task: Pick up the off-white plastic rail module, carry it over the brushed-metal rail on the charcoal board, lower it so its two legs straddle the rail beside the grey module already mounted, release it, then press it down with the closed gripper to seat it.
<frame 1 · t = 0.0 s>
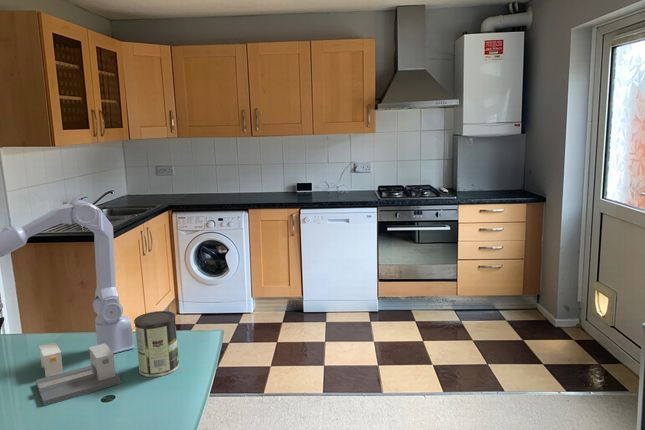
coffee can: (159, 368, 136), on the table
rail board: (78, 384, 128), on the table
module: (52, 370, 136), on the table
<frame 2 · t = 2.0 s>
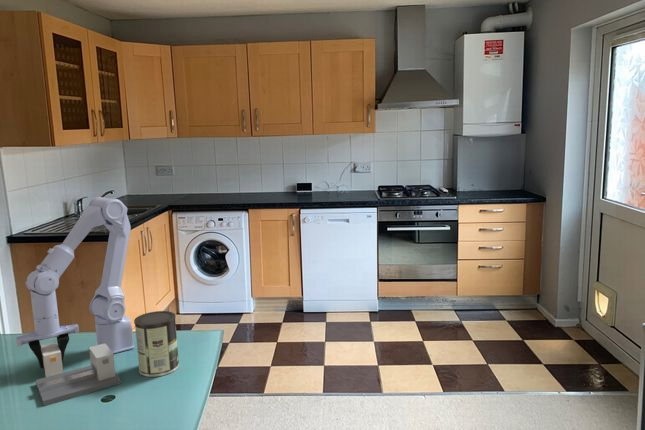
hand: (51, 364, 136), 2 cm above the table, fingers closed on module, 4 cm apart
module: (52, 370, 136), on the table, touching gripper
everything else where it was.
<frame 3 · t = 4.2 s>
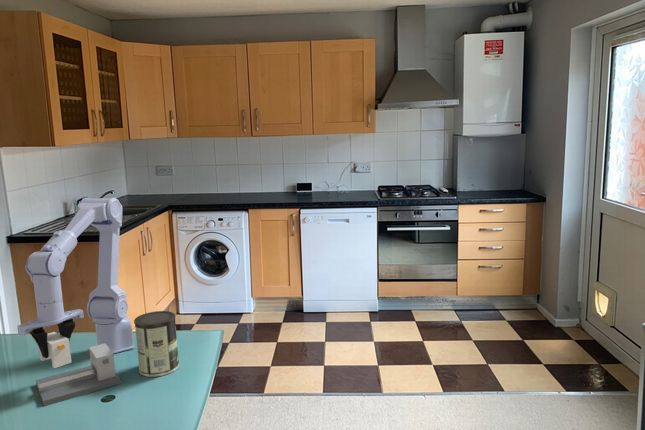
hand: (55, 353, 125), 9 cm above the table, fingers closed on module, 4 cm apart
module: (55, 361, 126), point 7 cm above the table, touching gripper
everything else where it was.
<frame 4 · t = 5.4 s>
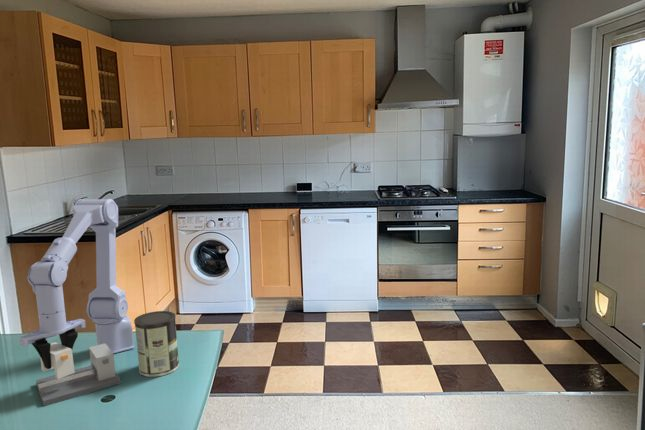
hand: (57, 364, 125), 7 cm above the table, fingers closed on module, 4 cm apart
module: (58, 371, 125), point 4 cm above the table, touching gripper
everything else where it was.
when the fingers open (3 cm above the table, at t = 6.5 s): module stays where it is, resting on rail board.
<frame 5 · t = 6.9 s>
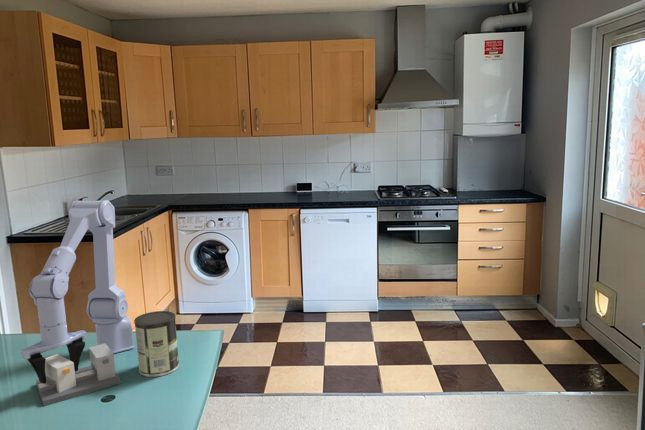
hand: (59, 376, 125), 3 cm above the table, fingers open, 7 cm apart
module: (59, 384, 125), point 1 cm above the table, touching rail board
everything else where it was.
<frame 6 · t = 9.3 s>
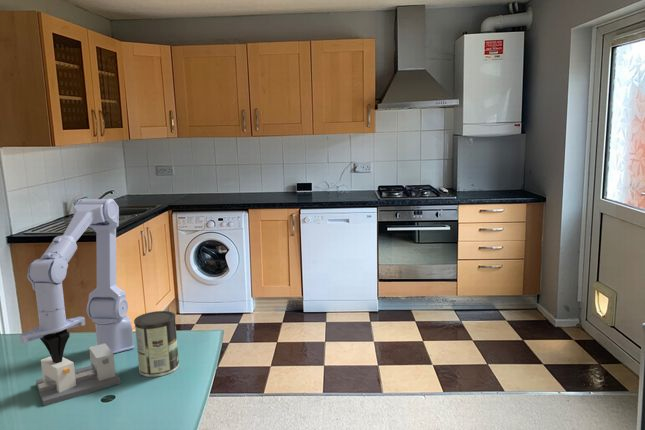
hand: (57, 361, 124), 7 cm above the table, fingers closed, pressing on module
module: (59, 384, 125), point 1 cm above the table, touching gripper, rail board
everything else where it was.
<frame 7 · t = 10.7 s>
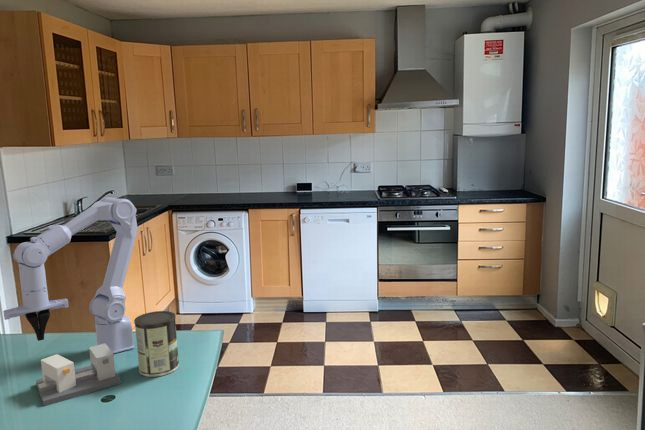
hand: (40, 339, 133), 9 cm above the table, fingers closed
module: (59, 384, 125), point 1 cm above the table, touching rail board
everything else where it was.
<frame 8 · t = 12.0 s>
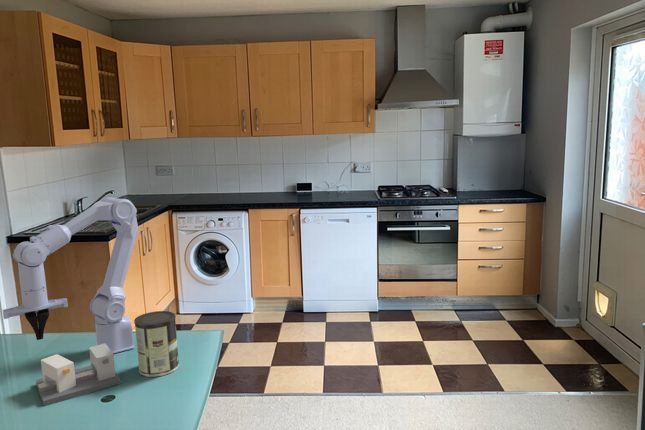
hand: (39, 338, 133), 9 cm above the table, fingers closed
nothing on the table moved.
at the end: module 0.2 cm from the target spot on the rail board, point 1.2 cm above the rail board's base; module tilted 0°; the gripper is holding nothing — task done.
